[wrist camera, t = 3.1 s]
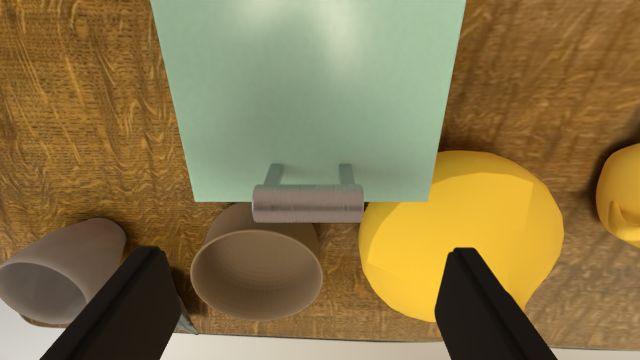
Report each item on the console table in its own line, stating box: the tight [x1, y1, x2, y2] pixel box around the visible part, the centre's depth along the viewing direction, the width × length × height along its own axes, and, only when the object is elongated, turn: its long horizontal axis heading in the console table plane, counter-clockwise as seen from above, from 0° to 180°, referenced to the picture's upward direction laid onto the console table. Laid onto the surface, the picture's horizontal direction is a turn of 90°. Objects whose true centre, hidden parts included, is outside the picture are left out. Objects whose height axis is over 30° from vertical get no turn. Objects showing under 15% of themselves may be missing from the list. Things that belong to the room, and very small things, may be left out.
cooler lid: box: [150, 0, 466, 223], centre depth 14 cm, size 12×15×6 cm
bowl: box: [190, 202, 323, 321], centre depth 33 cm, size 13×13×10 cm
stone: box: [176, 296, 199, 335], centre depth 41 cm, size 11×4×10 cm
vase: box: [358, 150, 564, 322], centre depth 27 cm, size 18×18×19 cm
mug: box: [0, 218, 126, 324], centre depth 34 cm, size 12×9×10 cm
